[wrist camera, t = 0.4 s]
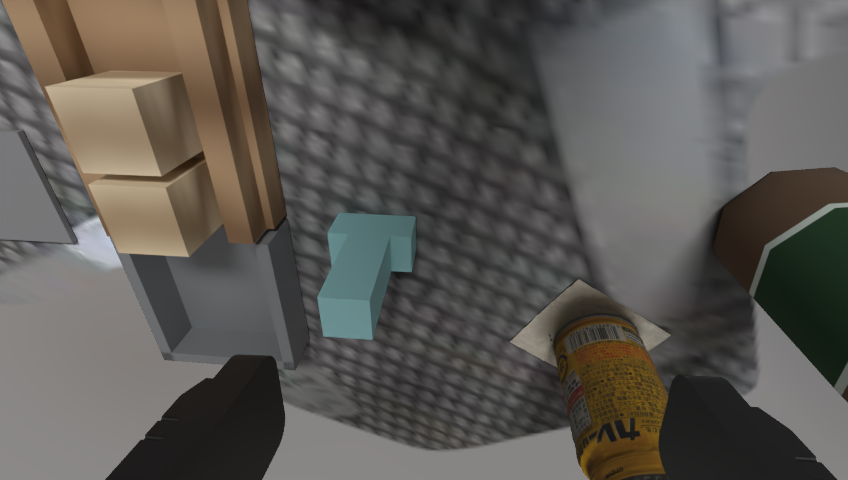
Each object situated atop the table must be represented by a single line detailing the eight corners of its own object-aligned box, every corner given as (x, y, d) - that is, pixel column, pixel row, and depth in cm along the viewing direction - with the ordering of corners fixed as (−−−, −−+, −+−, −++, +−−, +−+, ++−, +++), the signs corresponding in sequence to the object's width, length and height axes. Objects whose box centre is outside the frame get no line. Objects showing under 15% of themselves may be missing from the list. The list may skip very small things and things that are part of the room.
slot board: (15, -123, 20) (-75, -144, 16) (223, -126, 19) (172, -149, 16) (141, 206, 28) (99, 235, 25) (286, 213, 28) (262, 244, 24)
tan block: (141, 156, 24) (88, 184, 21) (208, 158, 24) (165, 188, 20) (164, 217, 26) (118, 252, 23) (225, 220, 26) (189, 256, 22)
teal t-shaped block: (338, 212, 27) (291, 295, 20) (415, 216, 27) (396, 302, 20) (342, 245, 29) (299, 334, 21) (416, 249, 28) (397, 341, 21)
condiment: (595, 387, 33) (651, 565, 23) (509, 340, 32) (528, 510, 21) (669, 332, 30) (774, 514, 20) (577, 276, 28) (639, 443, 18)
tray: (143, 212, 29) (109, 236, 26) (287, 219, 28) (267, 245, 25) (188, 329, 34) (164, 359, 31) (309, 338, 33) (295, 370, 31)
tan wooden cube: (111, 70, 22) (44, 86, 18) (185, 72, 21) (131, 88, 18) (138, 146, 24) (83, 173, 20) (206, 148, 24) (161, 176, 20)
